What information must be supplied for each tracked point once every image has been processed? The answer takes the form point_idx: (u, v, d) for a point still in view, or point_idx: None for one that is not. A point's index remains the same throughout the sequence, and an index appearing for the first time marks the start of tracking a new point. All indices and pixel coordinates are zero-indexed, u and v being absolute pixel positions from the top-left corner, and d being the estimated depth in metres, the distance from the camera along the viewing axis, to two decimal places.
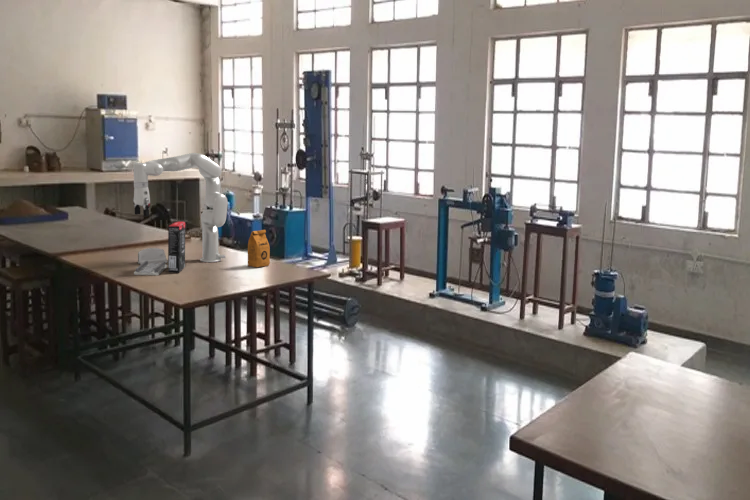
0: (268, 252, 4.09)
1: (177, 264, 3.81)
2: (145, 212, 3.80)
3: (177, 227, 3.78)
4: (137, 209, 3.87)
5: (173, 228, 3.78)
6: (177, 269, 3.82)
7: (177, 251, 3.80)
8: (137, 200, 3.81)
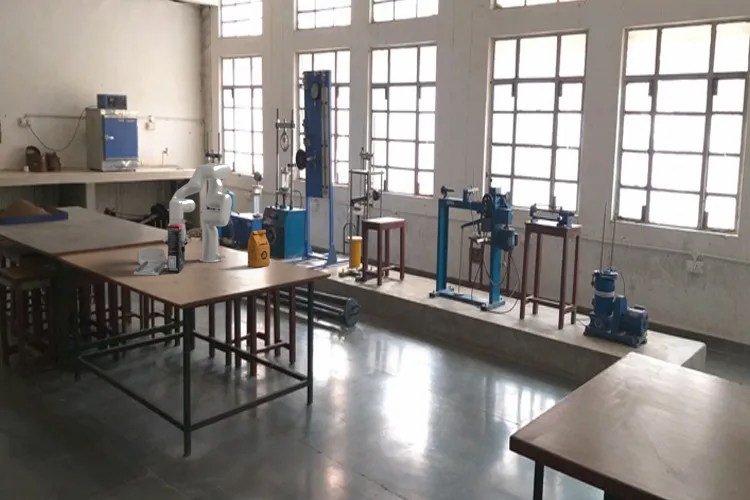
0: (268, 252, 4.09)
1: (177, 264, 3.81)
2: (183, 249, 3.87)
3: (177, 227, 3.78)
4: None
5: (173, 228, 3.78)
6: (177, 269, 3.82)
7: (177, 251, 3.80)
8: None
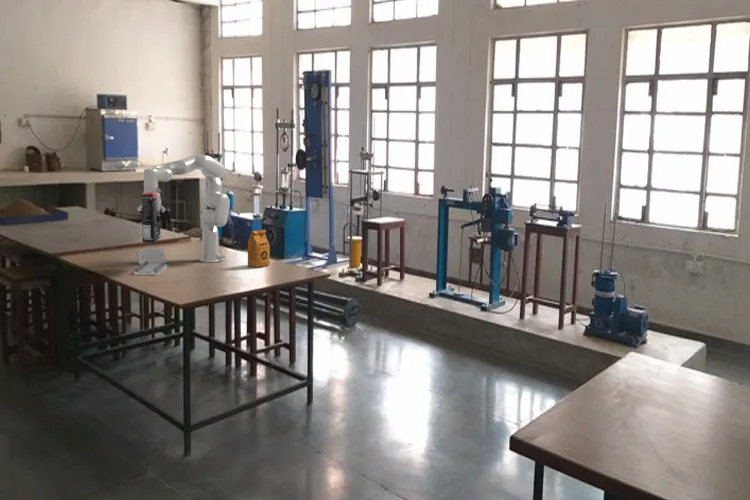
0: (268, 252, 4.09)
1: (152, 233, 3.75)
2: (158, 219, 3.81)
3: (151, 195, 3.71)
4: None
5: (147, 197, 3.71)
6: (152, 239, 3.75)
7: (151, 220, 3.74)
8: None
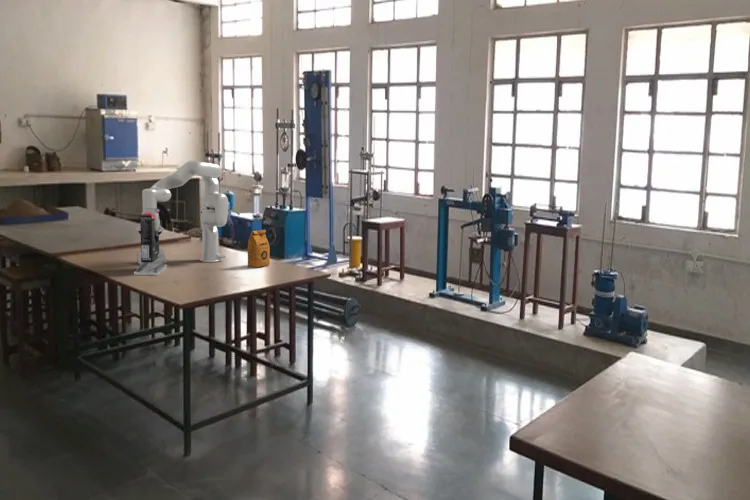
0: (268, 252, 4.09)
1: (150, 254, 3.77)
2: (157, 239, 3.83)
3: (149, 216, 3.73)
4: None
5: (145, 217, 3.73)
6: (150, 259, 3.77)
7: (150, 240, 3.75)
8: None
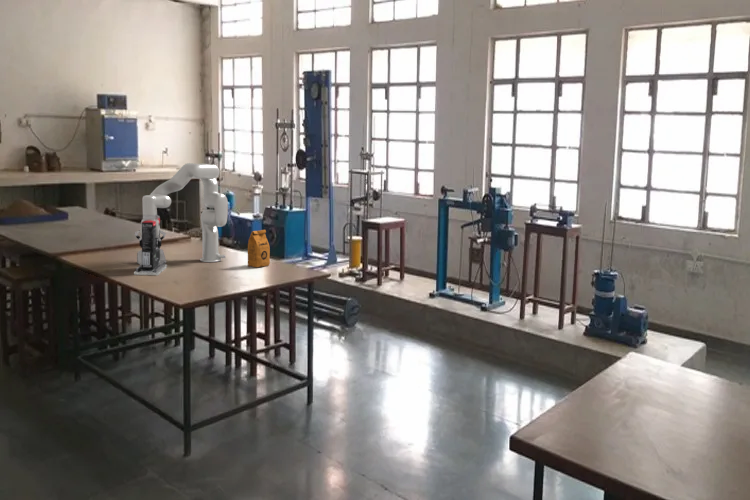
0: (268, 252, 4.09)
1: (151, 261, 3.78)
2: (160, 243, 3.83)
3: (151, 223, 3.74)
4: None
5: (147, 224, 3.74)
6: (151, 266, 3.78)
7: (151, 247, 3.76)
8: None
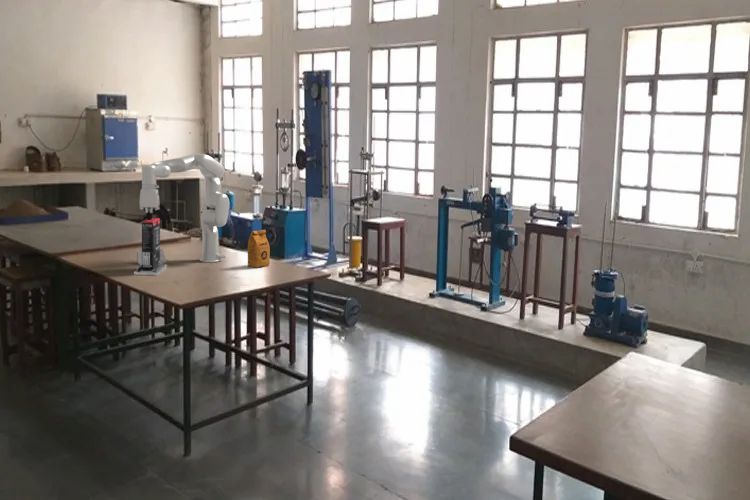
0: (268, 252, 4.09)
1: (151, 261, 3.78)
2: (151, 216, 3.80)
3: (151, 223, 3.74)
4: None
5: (146, 224, 3.74)
6: (151, 266, 3.78)
7: (151, 247, 3.76)
8: (148, 203, 3.77)
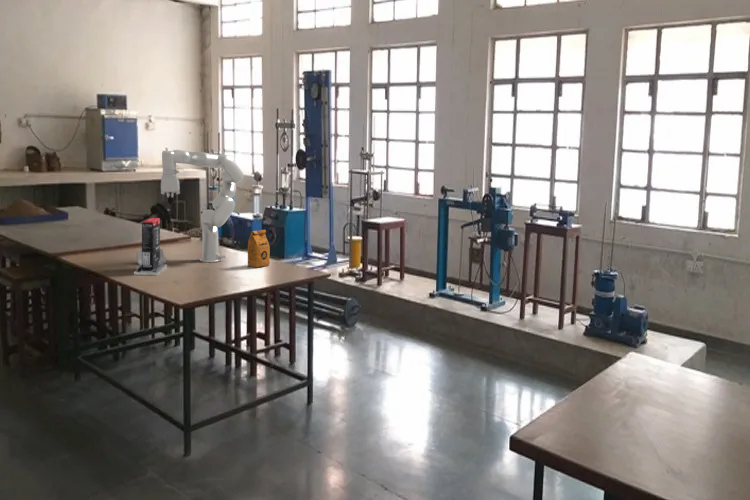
0: (268, 252, 4.09)
1: (151, 261, 3.78)
2: (172, 200, 3.96)
3: (151, 223, 3.74)
4: None
5: (147, 224, 3.74)
6: (151, 266, 3.78)
7: (151, 247, 3.76)
8: (169, 188, 3.93)
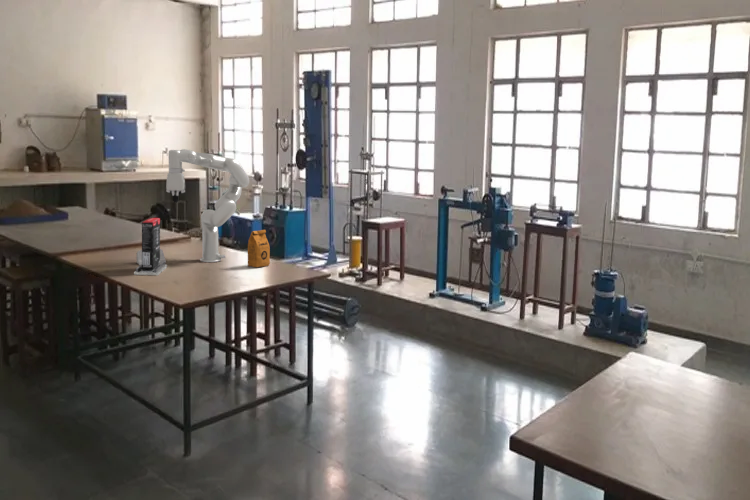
0: (268, 252, 4.09)
1: (151, 261, 3.78)
2: (177, 198, 4.00)
3: (151, 223, 3.74)
4: None
5: (147, 224, 3.74)
6: (151, 266, 3.78)
7: (151, 247, 3.76)
8: (174, 186, 3.97)
